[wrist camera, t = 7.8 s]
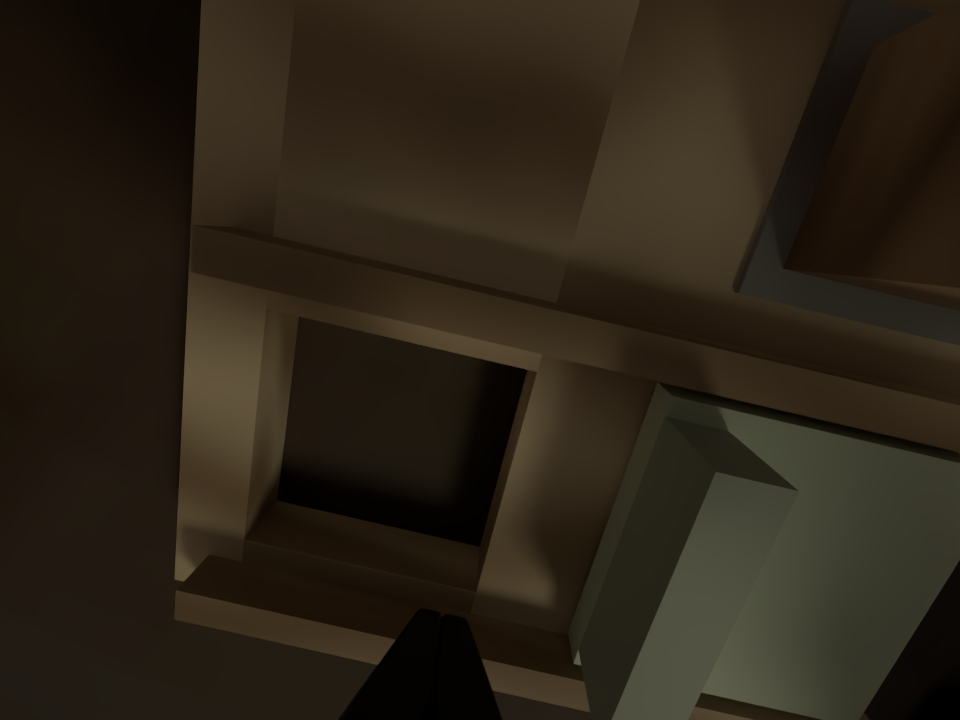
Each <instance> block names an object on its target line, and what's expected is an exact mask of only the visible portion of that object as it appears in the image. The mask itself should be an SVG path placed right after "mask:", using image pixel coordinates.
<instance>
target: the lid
mask: <svg viewBox="0 0 960 720" xmlns="http://www.w3.org/2000/svg"><path fill="white" fill-rule="evenodd" d="M959 560H960V453H958V452H953V451H949V450H945V449H941V448H936V447H932V446H928V445H924V444H919V443H915V442H911V441H906V440H902V439H898V438H894V437H889V436H885V435H881V434H877V433H872V432H868V431H864V430H859V429H855V428H851V427H847V426H842V425H838V424H834V423H830V422H825V421H821V420H817V419H812V418H808V417H804V416H800V415H795V414H791V413H787V412H782V411H778V410H774V409H770V408H765V407H761V406H757V405H753V404H748V403H744V402H740V401H735V400H731V399H727V398H723V397H718V396H714V395H710V394H706V393H701V392H697V391H693V390H688V389H684V388H680V387H676V386H671V385H667V384H663V383H659V382H657V385H656V388H655V391H654V393H653V396H652V399H651V402H650V405H649V407H648V410H647V413H646V416H645V419H644V421H643V424H642V427H641V430H640V433H639V435H638V438H637V441H636V444H635V447H634V449H633V452H632V455H631V458H630V461H629V463H628V466H627V469H626V472H625V475H624V477H623V480H622V483H621V486H620V488H619V491H618V494H617V497H616V500H615V502H614V505H613V508H612V511H611V514H610V516H609V519H608V522H607V525H606V528H605V530H604V533H603V536H602V539H601V542H600V544H599V547H598V550H597V553H596V556H595V558H594V561H593V564H592V567H591V570H590V572H589V575H588V578H587V581H586V584H585V586H584V589H583V592H582V595H581V598H580V600H579V603H578V606H577V609H576V612H575V614H574V617H573V620H572V623H571V626H570V628H569V631H568V635H569V641H570V647H571V653H572V659H573V664H577V665H581V667H582V672H583V677H584V683H585V688H586V694H587V699H588V704H589V710H590V715H591V720H688V719H689V717H690V715H691V713H692V711H693V709H694V707H695V705H696V703H697V701H698V698H699V696H700V694H701V693H706V694H710V695H715V696H719V697H724V698H728V699H732V700H737V701H741V702H746V703H750V704H755V705H759V706H764V707H768V708H773V709H777V710H781V711H786V712H790V713H795V714H799V715H804V716H808V717H813V718H817V719H822V720H859V719H860V718H861V716H862V714H863V713H864V711H865V710H866V708H867V707H868V705H869V703H870V702H871V700H872V699H873V697H874V695H875V694H876V692H877V691H878V689H879V688H880V686H881V684H882V683H883V681H884V680H885V678H886V676H887V675H888V673H889V672H890V670H891V668H892V667H893V665H894V664H895V662H896V661H897V659H898V657H899V656H900V654H901V653H902V651H903V649H904V648H905V646H906V645H907V643H908V641H909V640H910V638H911V637H912V635H913V634H914V632H915V630H916V629H917V627H918V626H919V624H920V622H921V621H922V619H923V618H924V616H925V614H926V613H927V611H928V610H929V608H930V607H931V605H932V603H933V602H934V600H935V599H936V597H937V595H938V594H939V592H940V591H941V589H942V587H943V586H944V584H945V583H946V581H947V580H948V578H949V576H950V575H951V573H952V572H953V570H954V568H955V567H956V565H957V564H958V562H959Z"/></svg>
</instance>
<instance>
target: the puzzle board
mask: <svg viewBox="0 0 960 720" xmlns="http://www.w3.org/2000/svg"><path fill="white" fill-rule="evenodd" d="M958 2H960V0H201V19H200V41H199V63H198V84H197V106H196V128H195V150H194V171H193V193H192V215H191V236H190V258H189V280H188V302H187V323H186V345H185V367H184V388H183V410H182V432H181V454H180V475H179V497H178V519H177V540H176V562H175V579H176V580H180V581H184V582H183V583H182V584H181V585H180V586H179V587H178V589H177V590H176V598H175V620H179V621H184V622H188V623H193V624H197V625H202V626H206V627H211V628H215V629H220V630H224V631H229V632H233V633H238V634H242V635H247V636H251V637H256V638H260V639H265V640H269V641H274V642H278V643H282V644H287V645H291V646H296V647H300V648H305V649H309V650H314V651H318V652H323V653H327V654H332V655H336V656H341V657H345V658H350V659H354V660H359V661H363V662H368V663H372V664H377V665H378V664H379V662H380V661H381V660H382V658H383V657H384V655H385V654H386V653H387V651H388V650H389V649H390V647H391V646H392V644H393V643H394V642H395V640H396V639H397V638H398V636H399V635H400V633H401V632H402V631H403V629H404V628H405V627H406V625H407V624H408V622H409V621H410V620H411V618H412V617H413V616H414V614H415V613H416V611H417V610H419V609H420V608H424V609H429V610H433V611H438V612H440V613H441V614H442V618H443V616H444V615H445V614H451V615H456V616H460V617H464V618H466V619H467V620H468V621H469V624H470V626H471V629H472V632H473V635H474V638H475V641H476V644H477V647H478V650H479V653H480V655H481V658H482V661H483V664H484V667H485V670H486V673H487V676H488V679H489V682H490V685H491V688H492V690H493V691H498V692H502V693H507V694H511V695H515V696H520V697H524V698H529V699H533V700H538V701H542V702H547V703H551V704H556V705H560V706H565V707H569V708H574V709H578V710H583V711H587V712H590V710H589V704H588V699H587V694H586V688H585V683H584V677H583V672H582V667H581V665H577V664H573V659H572V653H571V647H570V641H569V635H568V631H569V628H570V626H571V623H572V620H573V617H574V614H575V612H576V609H577V606H578V603H579V600H580V598H581V595H582V592H583V589H584V586H585V584H586V581H587V578H588V575H589V572H590V570H591V567H592V564H593V561H594V558H595V556H596V553H597V550H598V547H599V544H600V542H601V539H602V536H603V533H604V530H605V528H606V525H607V522H608V519H609V516H610V514H611V511H612V508H613V505H614V502H615V500H616V497H617V494H618V491H619V488H620V486H621V483H622V480H623V477H624V475H625V472H626V469H627V466H628V463H629V461H630V458H631V455H632V452H633V449H634V447H635V444H636V441H637V438H638V435H639V433H640V430H641V427H642V424H643V421H644V419H645V416H646V413H647V410H648V407H649V405H650V402H651V399H652V396H653V393H654V391H655V388H656V385H657V382H659V383H663V384H667V385H671V386H676V387H680V388H684V389H688V390H693V391H697V392H701V393H706V394H710V395H714V396H718V397H723V398H727V399H731V400H735V401H740V402H744V403H748V404H753V405H757V406H761V407H765V408H770V409H774V410H778V411H782V412H787V413H791V414H795V415H800V416H804V417H808V418H812V419H817V420H821V421H825V422H830V423H834V424H838V425H842V426H847V427H851V428H855V429H859V430H864V431H868V432H872V433H877V434H881V435H885V436H889V437H894V438H898V439H902V440H906V441H911V442H915V443H919V444H924V445H928V446H932V447H936V448H941V449H945V450H949V451H953V452H958V453H960V311H958V310H954V309H950V308H946V307H942V306H937V305H933V304H929V303H925V302H921V301H916V300H912V299H908V298H904V297H900V296H895V295H891V294H887V293H883V292H879V291H874V290H870V289H866V288H862V287H858V286H853V285H849V284H845V283H841V282H837V281H833V280H828V279H824V278H820V277H816V276H812V275H807V274H803V273H799V272H795V271H791V270H786V269H783V268H784V265H785V263H786V260H787V258H788V256H789V253H790V251H791V248H792V246H793V243H794V241H795V238H796V236H797V234H798V231H799V229H800V226H801V224H802V221H803V219H804V216H805V214H806V212H807V209H808V207H809V204H810V202H811V199H812V197H813V195H814V192H815V190H816V187H817V185H818V182H819V180H820V177H821V175H822V173H823V170H824V168H825V165H826V163H827V160H828V158H829V155H830V153H831V151H832V148H833V146H834V143H835V141H836V138H837V136H838V133H839V131H840V129H841V126H842V124H843V121H844V119H845V116H846V114H847V111H848V109H849V107H850V104H851V102H852V99H853V97H854V94H855V92H856V90H857V87H858V85H859V82H860V80H861V77H862V75H863V72H864V70H865V68H866V65H867V63H868V60H869V58H870V55H871V53H872V50H873V48H874V46H875V45H877V44H879V43H881V42H883V41H884V40H886V39H888V38H890V37H892V36H894V35H896V34H898V33H900V32H902V31H904V30H906V29H908V28H910V27H912V26H914V25H915V24H917V23H919V22H921V21H923V20H925V19H927V18H929V17H931V16H933V15H935V14H937V13H939V12H941V11H943V10H944V9H946V8H948V7H950V6H952V5H954V4H956V3H958ZM299 317H304V318H308V319H312V320H317V321H321V322H325V323H329V324H334V325H338V326H342V327H347V328H351V329H355V330H359V331H364V332H368V333H372V334H376V335H381V336H385V337H389V338H394V339H398V340H402V341H406V342H411V343H415V344H419V345H424V346H428V347H432V348H436V349H441V350H445V351H449V352H454V353H458V354H462V355H466V356H471V357H475V358H479V359H484V360H488V361H492V362H496V363H501V364H505V365H509V366H514V367H518V368H522V369H526V370H527V373H526V377H525V381H524V384H523V388H522V392H521V395H520V399H519V403H518V406H517V410H516V414H515V418H514V421H513V425H512V429H511V432H510V436H509V440H508V444H507V447H506V451H505V455H504V458H503V462H502V466H501V469H500V473H499V477H498V481H497V484H496V488H495V492H494V495H493V499H492V503H491V507H490V510H489V514H488V518H487V521H486V525H485V529H484V533H483V536H482V540H481V544H480V547H479V546H474V545H470V544H466V543H461V542H457V541H452V540H448V539H444V538H439V537H435V536H430V535H426V534H422V533H417V532H413V531H408V530H404V529H400V528H395V527H391V526H386V525H382V524H378V523H373V522H369V521H364V520H360V519H356V518H351V517H347V516H343V515H338V514H334V513H329V512H325V511H321V510H316V509H312V508H307V507H303V506H299V505H294V504H290V503H285V502H281V501H277V500H278V492H279V483H280V475H281V466H282V458H283V449H284V440H285V432H286V423H287V415H288V406H289V398H290V389H291V380H292V372H293V363H294V355H295V346H296V338H297V329H298V320H299ZM688 720H822V719H817V718H813V717H808V716H804V715H799V714H795V713H790V712H786V711H781V710H777V709H773V708H768V707H764V706H759V705H755V704H750V703H746V702H741V701H737V700H732V699H728V698H724V697H719V696H715V695H710V694H706V693H701V694H700V696H699V698H698V701H697V703H696V705H695V707H694V709H693V711H692V713H691V715H690V717H689V719H688ZM859 720H870V719H869V718H868V717H867V715H866V714H865V713H863V714H862V716H861V718H860V719H859Z"/></svg>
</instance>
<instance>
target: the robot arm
mask: <svg viewBox="0 0 960 720" xmlns="http://www.w3.org/2000/svg"><path fill="white" fill-rule="evenodd" d="M338 720H502V717H501V714H500V711H499V708H498V705H497V702H496V699H495V696H494V693H493V690H492V688H491V685H490V682H489V679H488V676H487V673H486V670H485V667H484V664H483V661H482V658H481V655H480V653H479V650H478V647H477V644H476V641H475V638H474V635H473V632H472V629H471V626H470V624H469V621H468V620H467V619H466V618H464V617H460V616H456V615H451V614H445V615H444V616H443V618H442V614H441V613H440V612H438V611H433V610H429V609H424V608H420V609H419V610H417V611H416V613H415V614H414V616H413V617H412V618H411V620H410V621H409V622H408V624H407V625H406V627H405V628H404V629H403V631H402V632H401V633H400V635H399V636H398V638H397V639H396V640H395V642H394V643H393V644H392V646H391V647H390V649H389V650H388V651H387V653H386V654H385V655H384V657H383V658H382V660H381V661H380V662H379V664H378V665H377V666H376V668H375V669H374V671H373V672H372V673H371V675H370V676H369V677H368V679H367V680H366V682H365V683H364V684H363V686H362V687H361V688H360V690H359V691H358V693H357V694H356V695H355V697H354V698H353V699H352V701H351V702H350V704H349V705H348V706H347V708H346V709H345V710H344V712H343V713H342V714H341V716H340V717H339V719H338ZM919 720H960V691H956V690H945V691H942V692H940V693H938V694H937V695H936V696H935V697H934V698H933V699H932V701H931V702H930V703H929V705H928V706H927V708H926V709H925V711H924V712H923V714H922V715H921V717H920V718H919Z"/></svg>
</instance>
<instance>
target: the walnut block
mask: <svg viewBox="0 0 960 720" xmlns="http://www.w3.org/2000/svg"><path fill="white" fill-rule="evenodd" d="M783 269H786V270H791V271H795V272H799V273H803V274H807V275H812V276H816V277H820V278H824V279H828V280H833V281H837V282H841V283H845V284H849V285H853V286H858V287H862V288H866V289H870V290H874V291H879V292H883V293H887V294H891V295H895V296H900V297H904V298H908V299H912V300H916V301H921V302H925V303H929V304H933V305H937V306H942V307H946V308H950V309H954V310H958V311H960V2H958V3H956V4H954V5H952V6H950V7H948V8H946V9H944V10H943V11H941V12H939V13H937V14H935V15H933V16H931V17H929V18H927V19H925V20H923V21H921V22H919V23H917V24H915V25H914V26H912V27H910V28H908V29H906V30H904V31H902V32H900V33H898V34H896V35H894V36H892V37H890V38H888V39H886V40H884V41H883V42H881V43H879V44H877V45H875V46H874V48H873V50H872V53H871V55H870V58H869V60H868V63H867V65H866V68H865V70H864V72H863V75H862V77H861V80H860V82H859V85H858V87H857V90H856V92H855V94H854V97H853V99H852V102H851V104H850V107H849V109H848V111H847V114H846V116H845V119H844V121H843V124H842V126H841V129H840V131H839V133H838V136H837V138H836V141H835V143H834V146H833V148H832V151H831V153H830V155H829V158H828V160H827V163H826V165H825V168H824V170H823V173H822V175H821V177H820V180H819V182H818V185H817V187H816V190H815V192H814V195H813V197H812V199H811V202H810V204H809V207H808V209H807V212H806V214H805V216H804V219H803V221H802V224H801V226H800V229H799V231H798V234H797V236H796V238H795V241H794V243H793V246H792V248H791V251H790V253H789V256H788V258H787V260H786V263H785V265H784V268H783Z"/></svg>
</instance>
